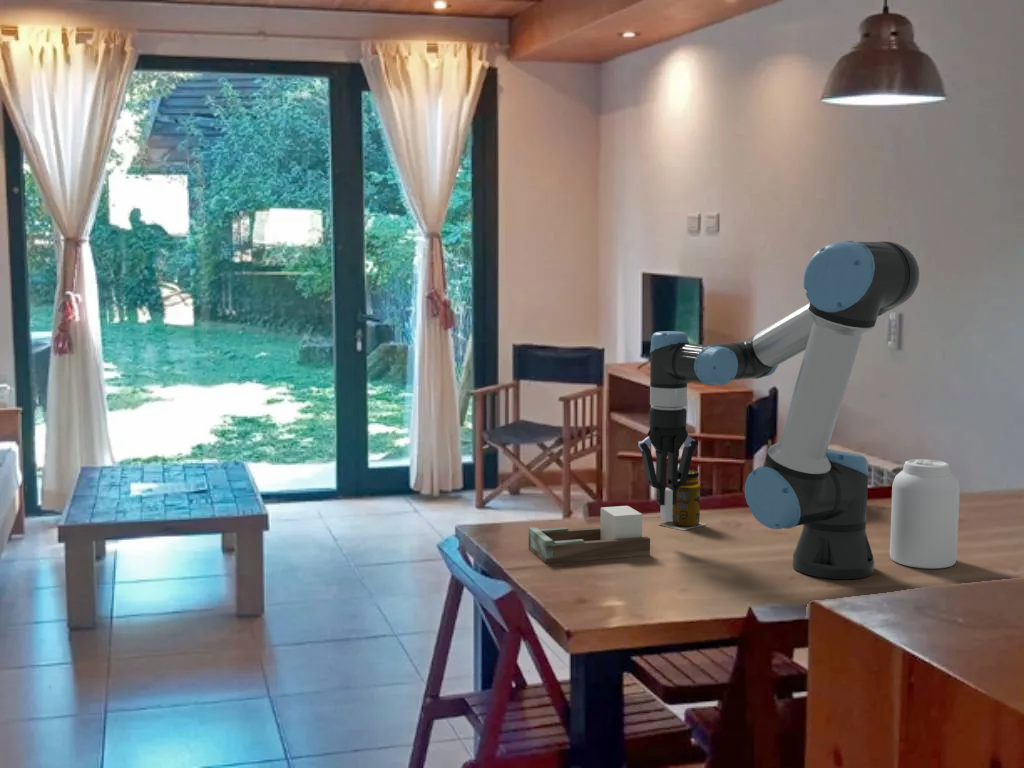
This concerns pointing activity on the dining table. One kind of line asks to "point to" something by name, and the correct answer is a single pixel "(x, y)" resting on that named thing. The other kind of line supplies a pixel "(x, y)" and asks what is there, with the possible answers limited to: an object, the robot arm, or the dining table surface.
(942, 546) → the can
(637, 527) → the cream block
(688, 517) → the condiment
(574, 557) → the walnut chute
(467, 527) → the dining table surface
